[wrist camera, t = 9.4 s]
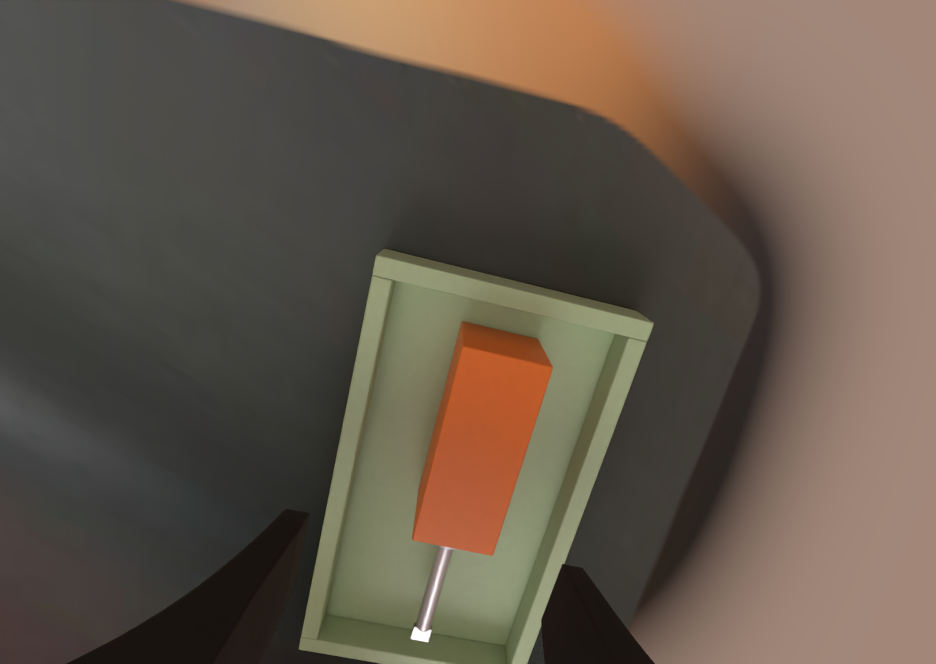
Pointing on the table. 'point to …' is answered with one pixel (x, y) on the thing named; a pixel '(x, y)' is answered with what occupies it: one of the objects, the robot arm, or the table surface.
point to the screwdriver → (477, 449)
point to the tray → (405, 451)
